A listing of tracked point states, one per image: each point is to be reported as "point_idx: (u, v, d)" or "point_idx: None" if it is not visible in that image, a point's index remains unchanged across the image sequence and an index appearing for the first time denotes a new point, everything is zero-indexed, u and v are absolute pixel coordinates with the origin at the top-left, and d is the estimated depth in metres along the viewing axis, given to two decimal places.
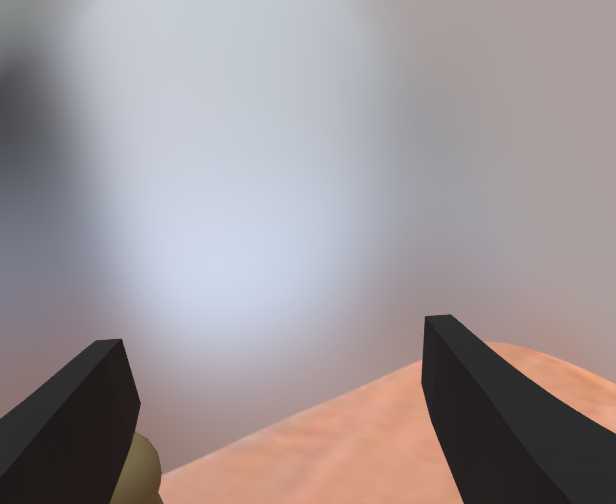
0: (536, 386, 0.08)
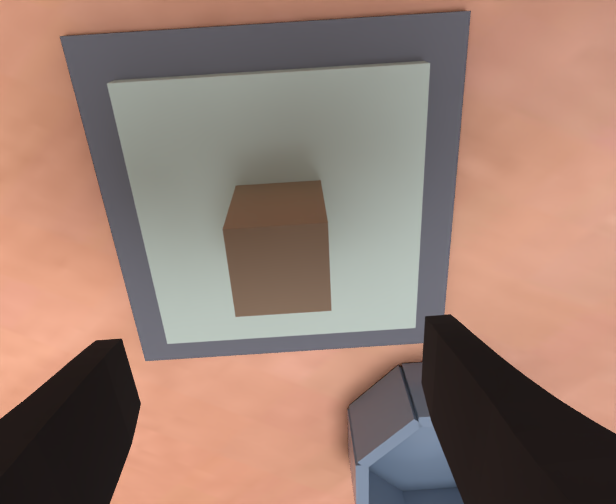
0: (536, 386, 0.08)
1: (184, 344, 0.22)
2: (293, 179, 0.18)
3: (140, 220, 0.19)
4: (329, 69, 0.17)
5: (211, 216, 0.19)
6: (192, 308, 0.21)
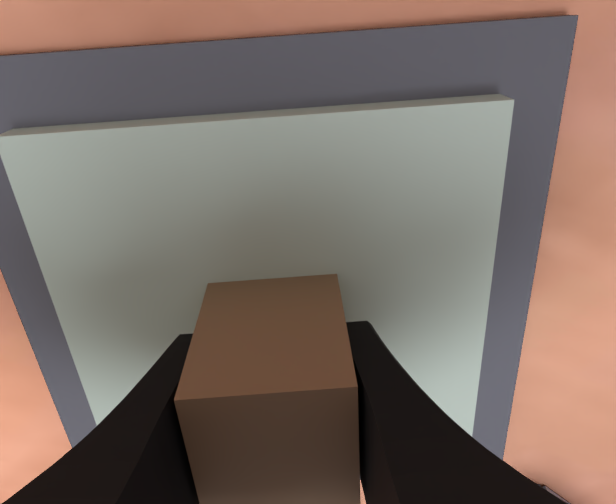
0: (422, 394, 0.08)
1: None
2: (296, 273, 0.12)
3: (66, 333, 0.12)
4: (352, 110, 0.10)
5: (173, 326, 0.12)
6: None
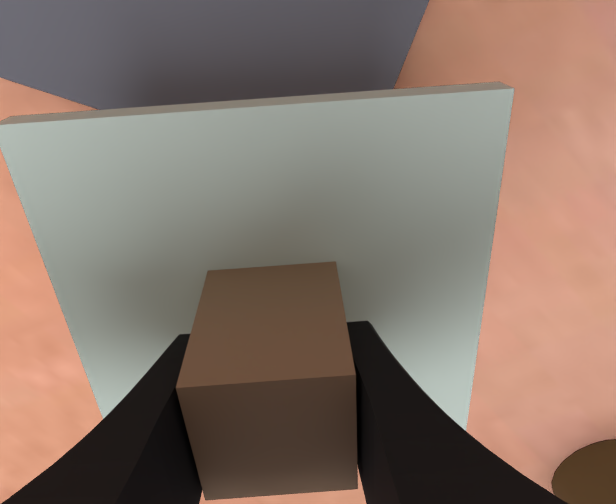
0: (422, 395, 0.08)
1: (48, 70, 0.17)
2: (295, 260, 0.12)
3: (68, 319, 0.13)
4: (351, 99, 0.10)
5: (173, 312, 0.13)
6: None
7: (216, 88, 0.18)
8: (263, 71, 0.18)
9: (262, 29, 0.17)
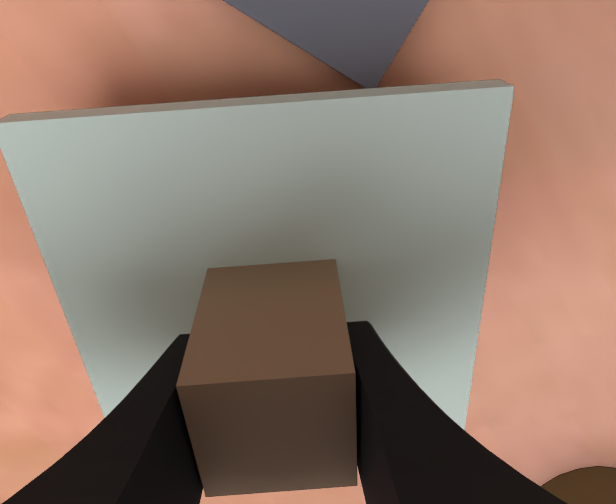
0: (422, 394, 0.08)
1: None
2: (295, 258, 0.12)
3: (68, 317, 0.13)
4: (351, 97, 0.10)
5: (174, 310, 0.13)
6: None
7: None
8: None
9: None
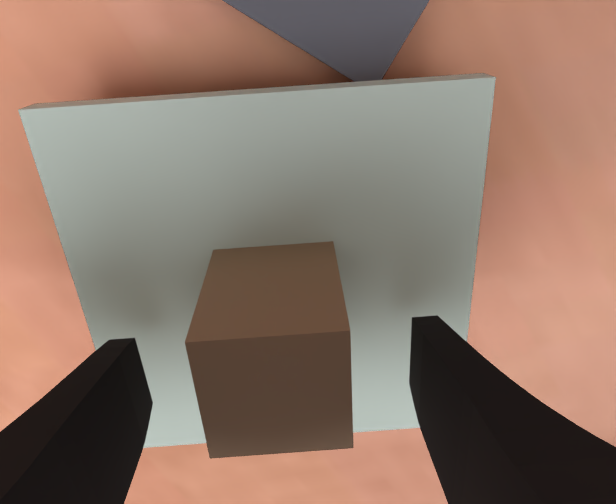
0: (518, 387, 0.08)
1: None
2: (295, 240, 0.13)
3: (81, 297, 0.13)
4: (347, 87, 0.11)
5: (181, 290, 0.13)
6: (158, 405, 0.15)
7: None
8: None
9: None
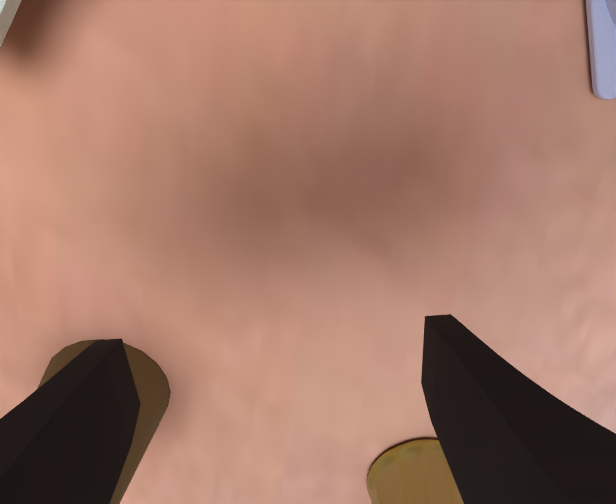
0: (536, 386, 0.08)
1: None
2: None
3: None
4: None
5: None
6: None
7: None
8: None
9: None
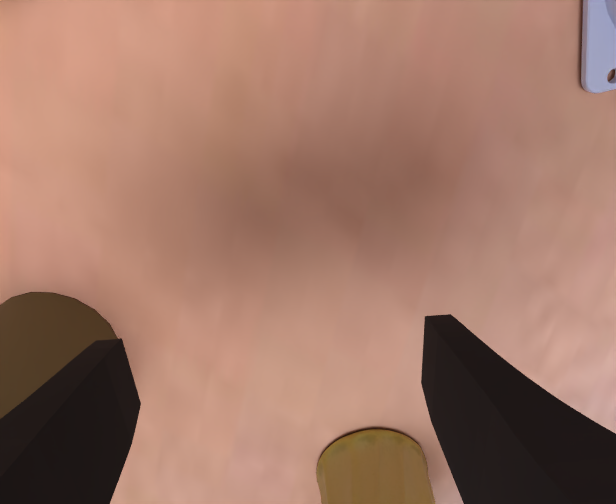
0: (536, 386, 0.08)
1: None
2: None
3: None
4: None
5: None
6: None
7: None
8: None
9: None
